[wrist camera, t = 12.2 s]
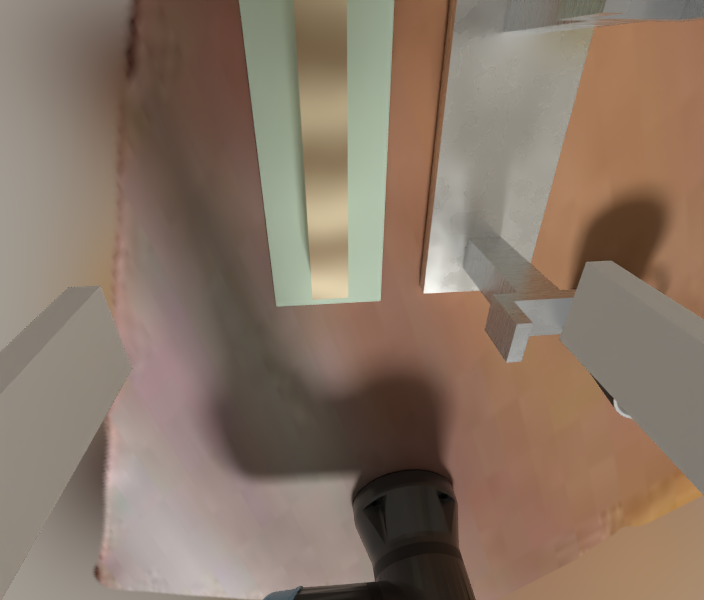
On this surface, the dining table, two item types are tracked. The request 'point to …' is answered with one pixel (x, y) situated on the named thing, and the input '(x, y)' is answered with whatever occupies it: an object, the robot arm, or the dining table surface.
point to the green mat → (287, 147)
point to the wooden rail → (324, 139)
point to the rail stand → (510, 149)
